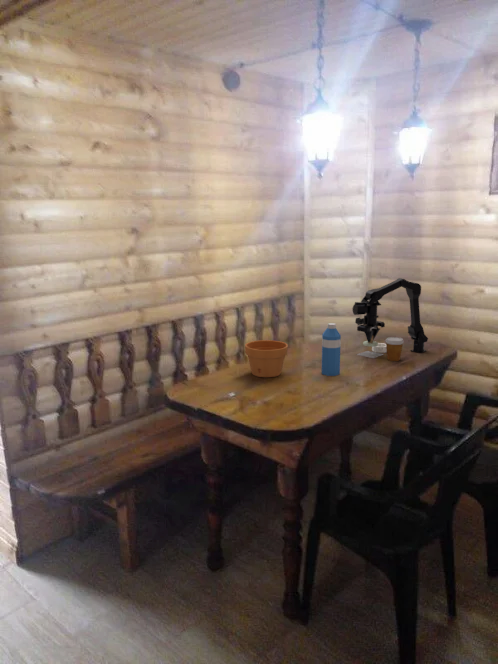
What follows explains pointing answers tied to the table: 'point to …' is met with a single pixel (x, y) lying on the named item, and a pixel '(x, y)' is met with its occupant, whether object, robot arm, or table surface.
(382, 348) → the bowl
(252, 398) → the table surface
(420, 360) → the table surface
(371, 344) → the lid
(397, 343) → the disposable coffee cup
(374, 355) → the coaster
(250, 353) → the flower pot
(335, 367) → the water bottle
